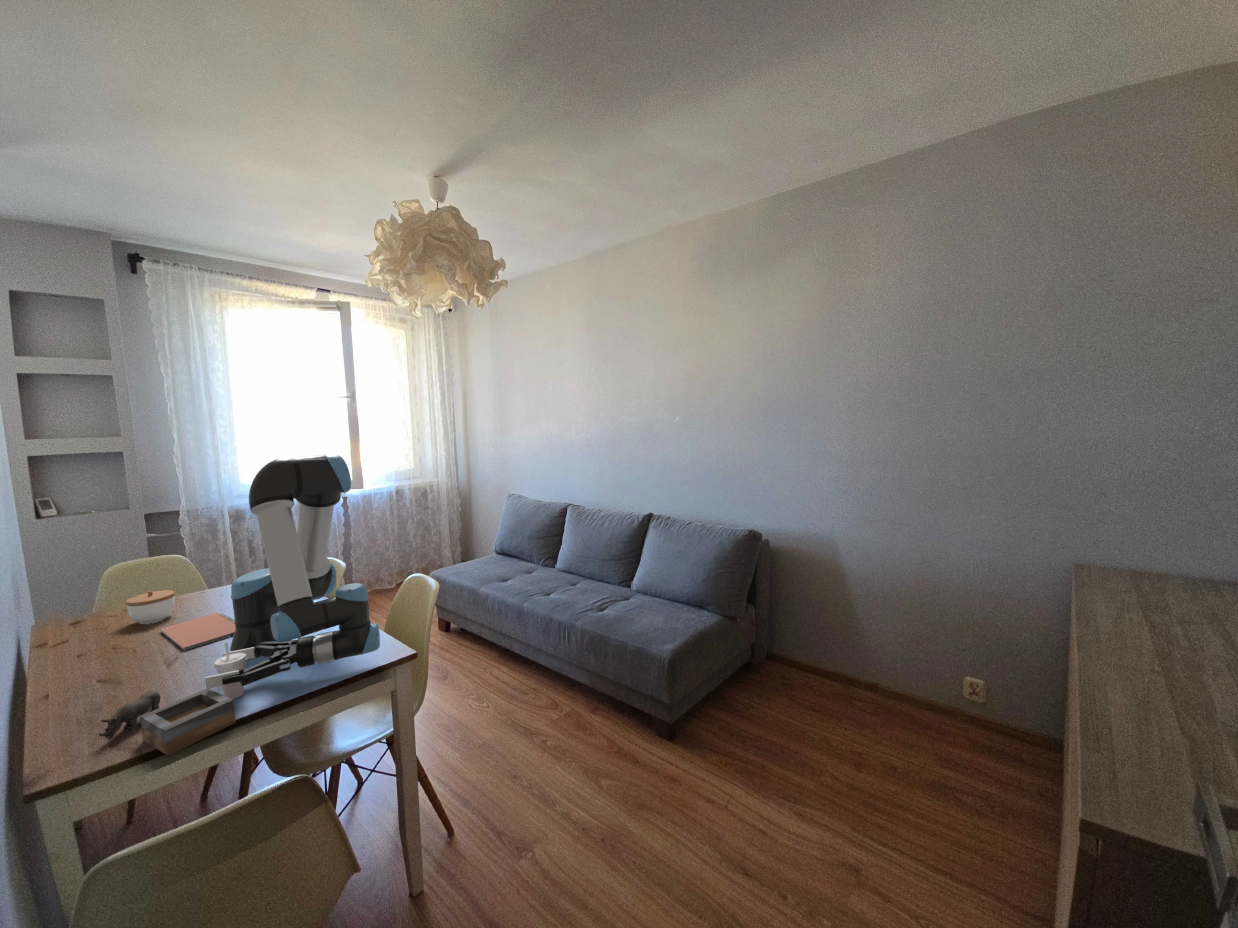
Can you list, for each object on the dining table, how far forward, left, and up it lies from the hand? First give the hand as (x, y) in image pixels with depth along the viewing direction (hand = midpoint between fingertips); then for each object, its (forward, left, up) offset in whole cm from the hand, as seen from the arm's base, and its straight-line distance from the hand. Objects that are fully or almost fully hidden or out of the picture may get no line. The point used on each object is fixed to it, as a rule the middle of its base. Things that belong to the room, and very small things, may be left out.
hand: (215, 670), depth 119 cm
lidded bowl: (-86, +17, -8) cm, 88 cm away
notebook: (-55, +19, -8) cm, 59 cm away
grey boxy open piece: (+10, -9, -8) cm, 16 cm away
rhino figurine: (-5, -14, -8) cm, 17 cm away
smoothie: (+2, +3, -8) cm, 8 cm away
